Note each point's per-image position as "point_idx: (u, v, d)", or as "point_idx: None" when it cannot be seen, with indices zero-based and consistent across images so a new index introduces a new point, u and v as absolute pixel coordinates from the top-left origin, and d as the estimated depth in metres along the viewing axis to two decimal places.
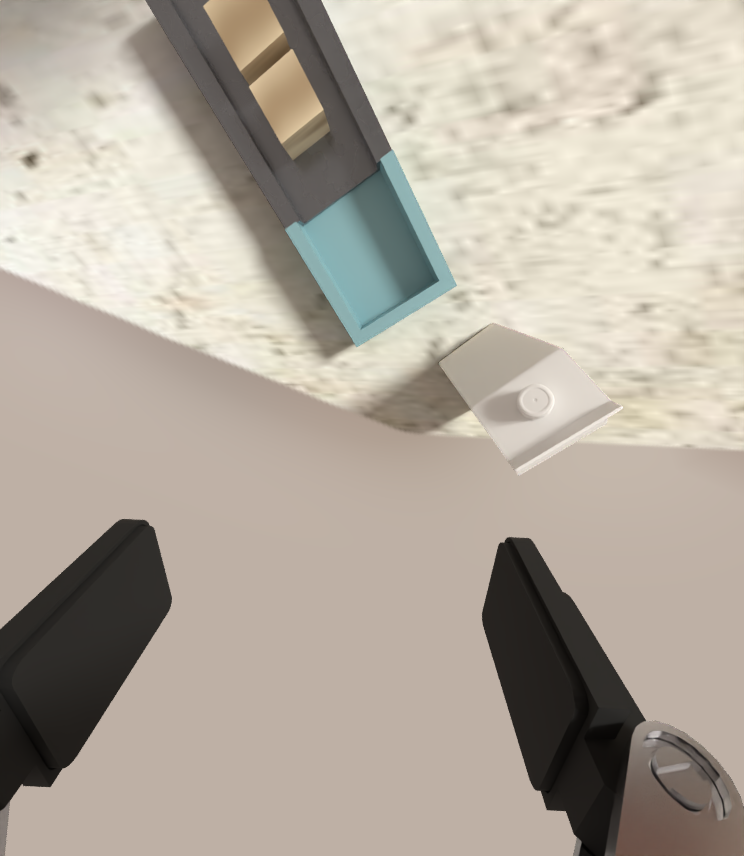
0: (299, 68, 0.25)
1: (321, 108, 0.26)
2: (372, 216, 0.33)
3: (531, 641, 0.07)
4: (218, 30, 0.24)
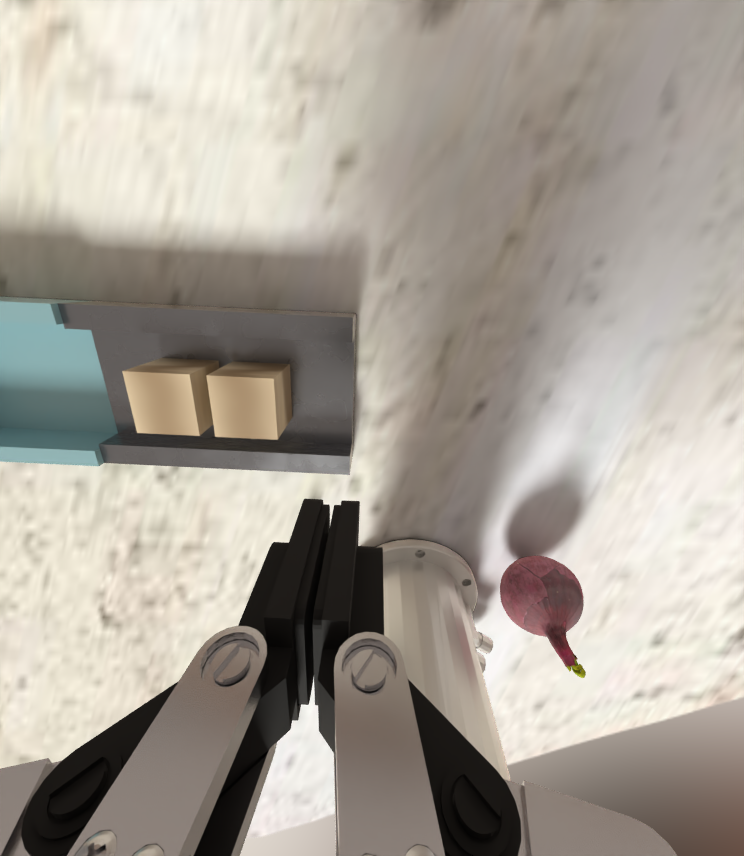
0: (181, 432, 0.22)
1: (139, 431, 0.22)
2: (80, 401, 0.26)
3: None
4: (248, 378, 0.20)
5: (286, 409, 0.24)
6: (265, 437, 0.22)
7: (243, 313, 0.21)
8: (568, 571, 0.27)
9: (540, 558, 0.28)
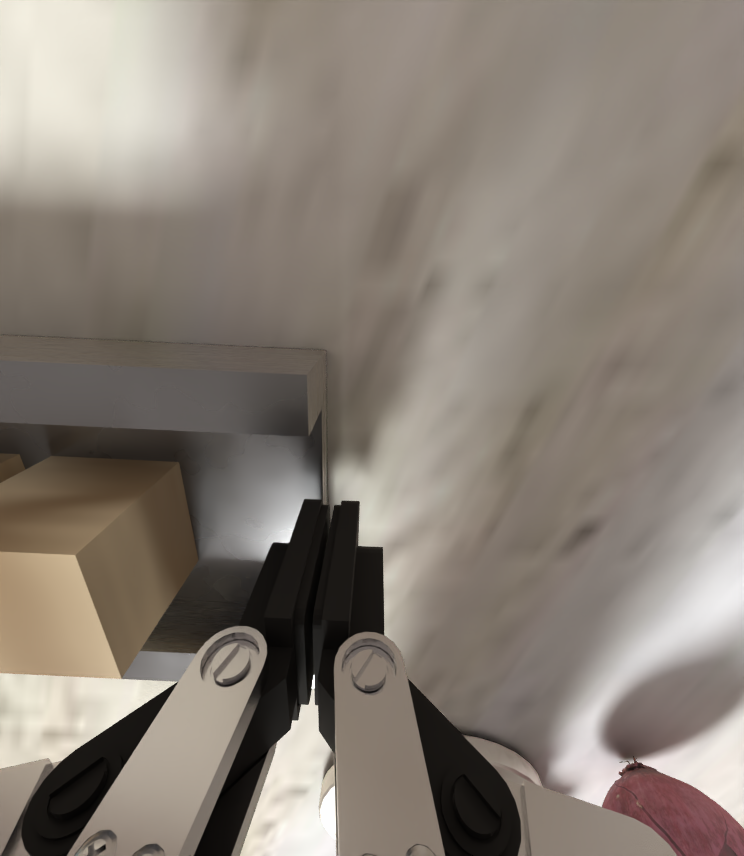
0: None
1: None
2: None
3: None
4: (6, 554, 0.07)
5: (168, 568, 0.10)
6: (89, 674, 0.09)
7: (5, 363, 0.08)
8: None
9: (684, 802, 0.15)
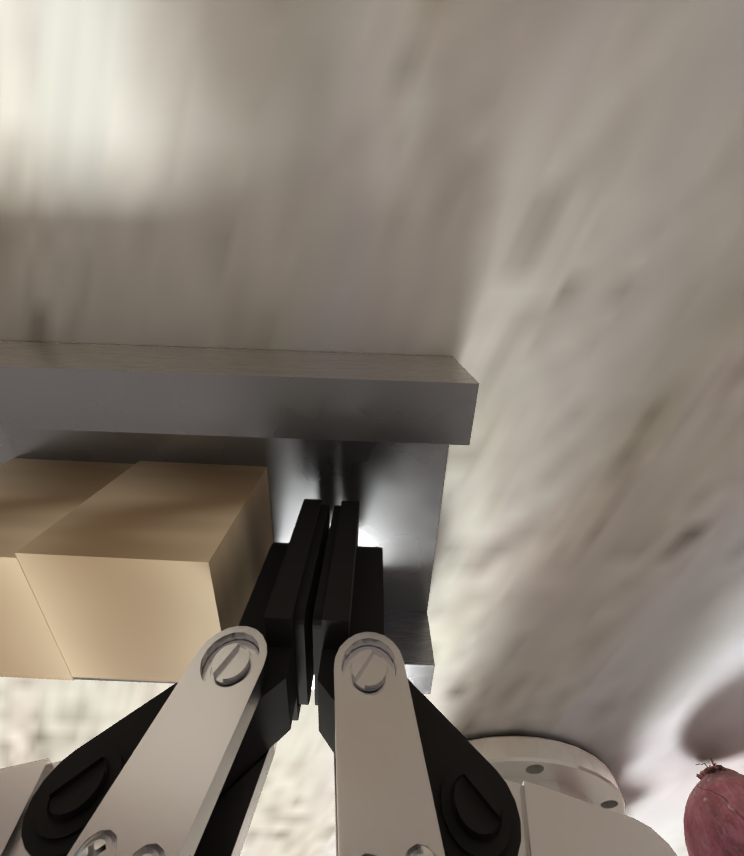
0: (25, 673, 0.09)
1: None
2: None
3: None
4: (138, 561, 0.07)
5: (259, 573, 0.10)
6: None
7: (177, 375, 0.08)
8: None
9: None
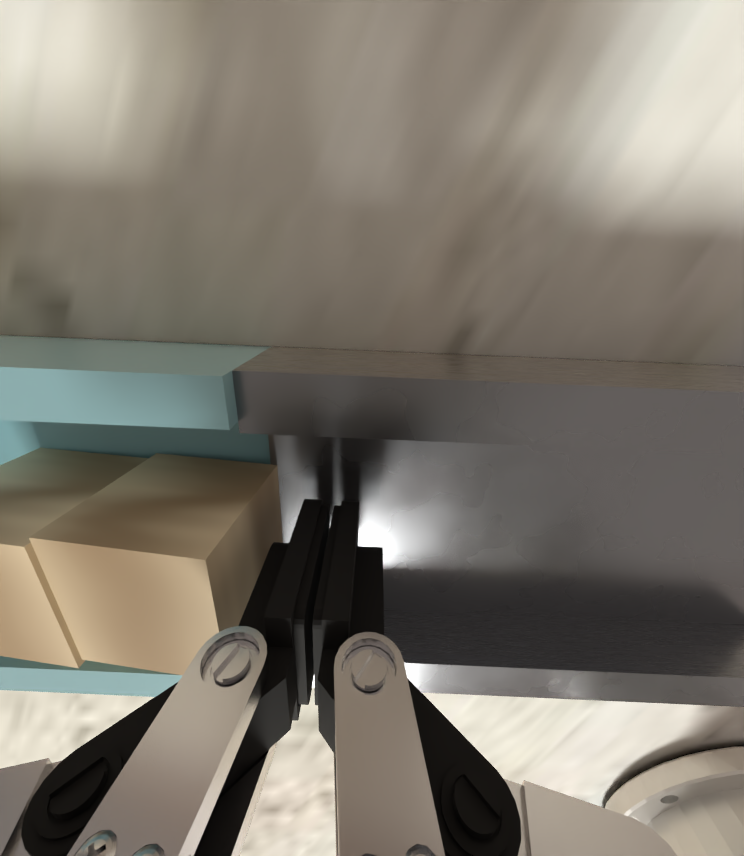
0: (35, 657, 0.09)
1: None
2: None
3: None
4: (139, 554, 0.07)
5: None
6: None
7: None
8: None
9: None
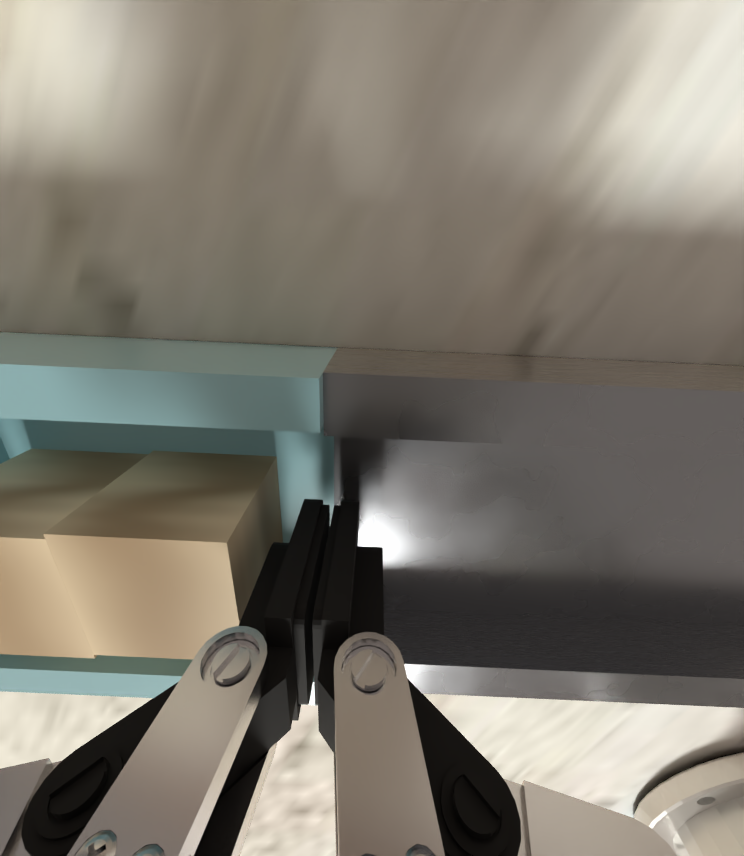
0: (48, 652, 0.09)
1: None
2: None
3: None
4: (160, 542, 0.08)
5: None
6: None
7: None
8: None
9: None
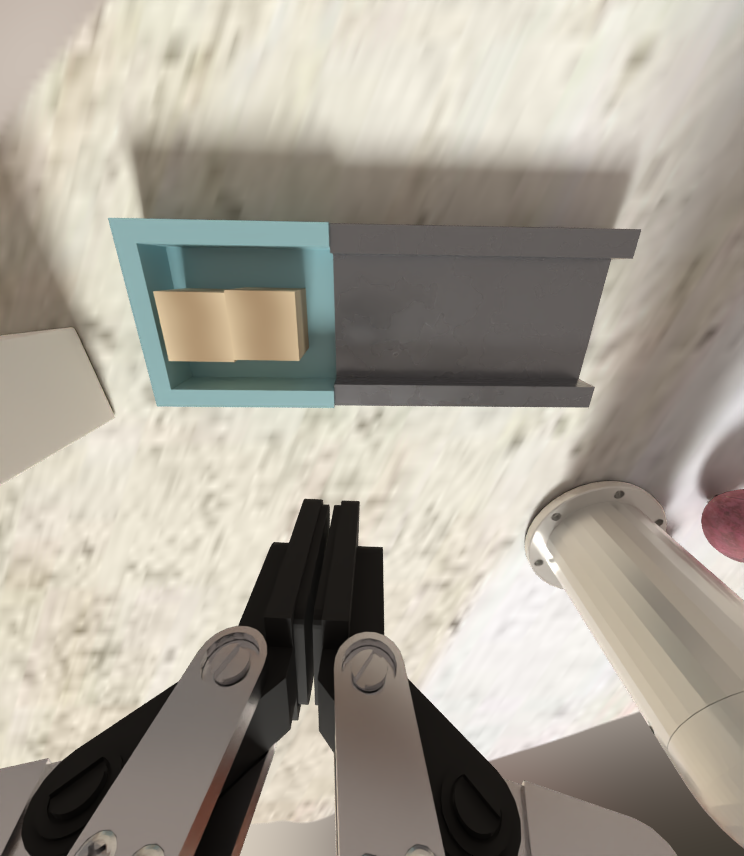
0: (215, 358, 0.21)
1: (171, 359, 0.21)
2: None
3: None
4: (268, 292, 0.20)
5: (304, 334, 0.23)
6: (286, 358, 0.21)
7: (526, 228, 0.20)
8: None
9: None
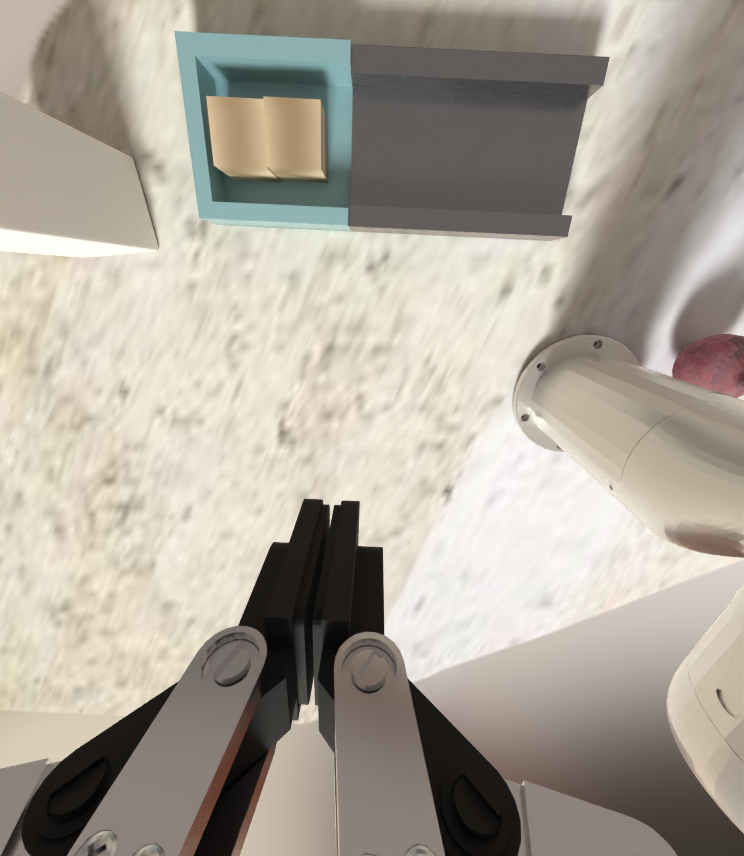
0: (251, 164, 0.26)
1: (215, 164, 0.26)
2: None
3: None
4: (299, 100, 0.24)
5: (325, 160, 0.27)
6: (310, 166, 0.26)
7: (513, 53, 0.24)
8: None
9: None
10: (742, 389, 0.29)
